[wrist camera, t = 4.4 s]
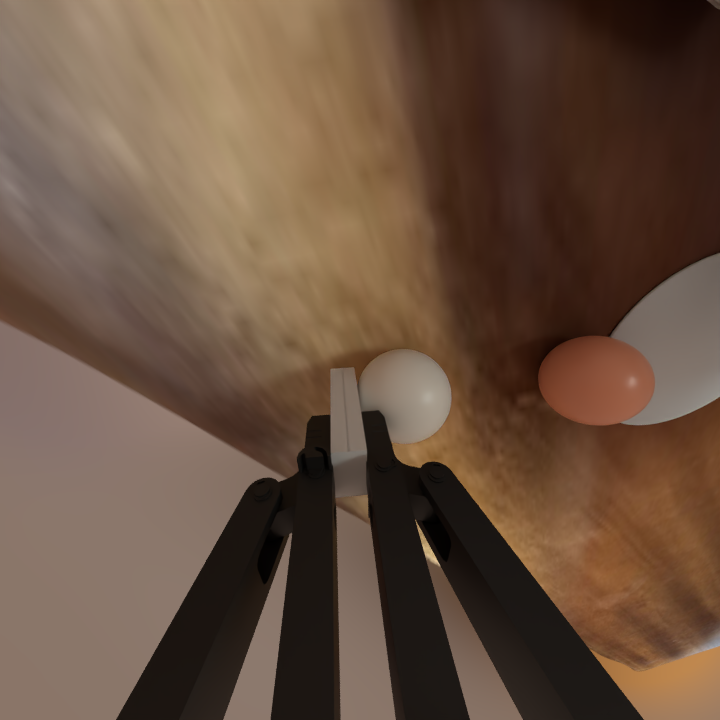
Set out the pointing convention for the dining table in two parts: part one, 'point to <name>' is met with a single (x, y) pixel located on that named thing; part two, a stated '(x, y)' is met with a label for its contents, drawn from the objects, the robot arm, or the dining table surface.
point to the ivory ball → (406, 394)
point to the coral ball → (596, 380)
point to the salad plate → (715, 3)
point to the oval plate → (678, 341)
